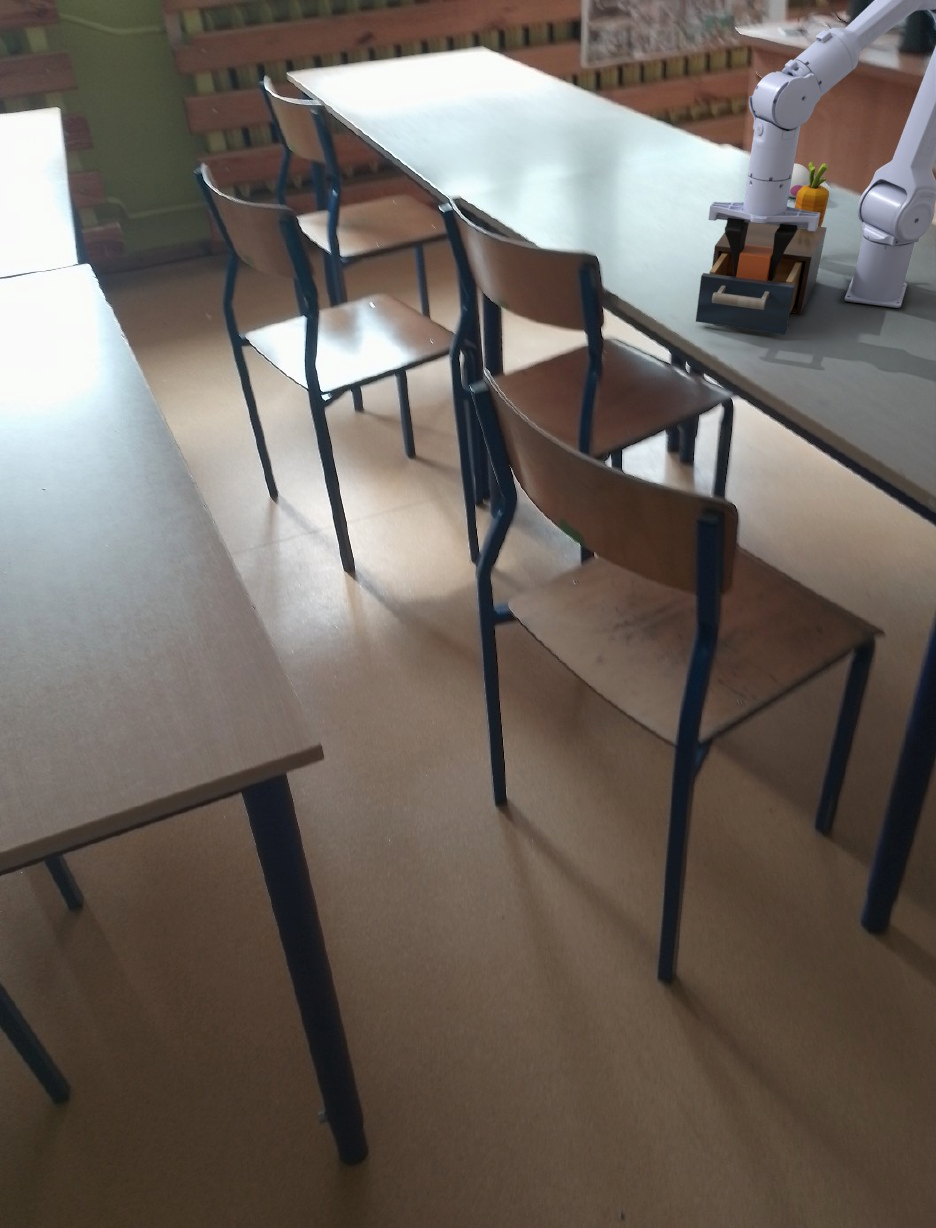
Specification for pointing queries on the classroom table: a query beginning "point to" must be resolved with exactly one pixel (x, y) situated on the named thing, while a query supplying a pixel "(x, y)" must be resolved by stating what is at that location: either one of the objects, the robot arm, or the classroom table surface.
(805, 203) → the carrot
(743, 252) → the block
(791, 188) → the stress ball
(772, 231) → the cabinet
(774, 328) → the drawer
